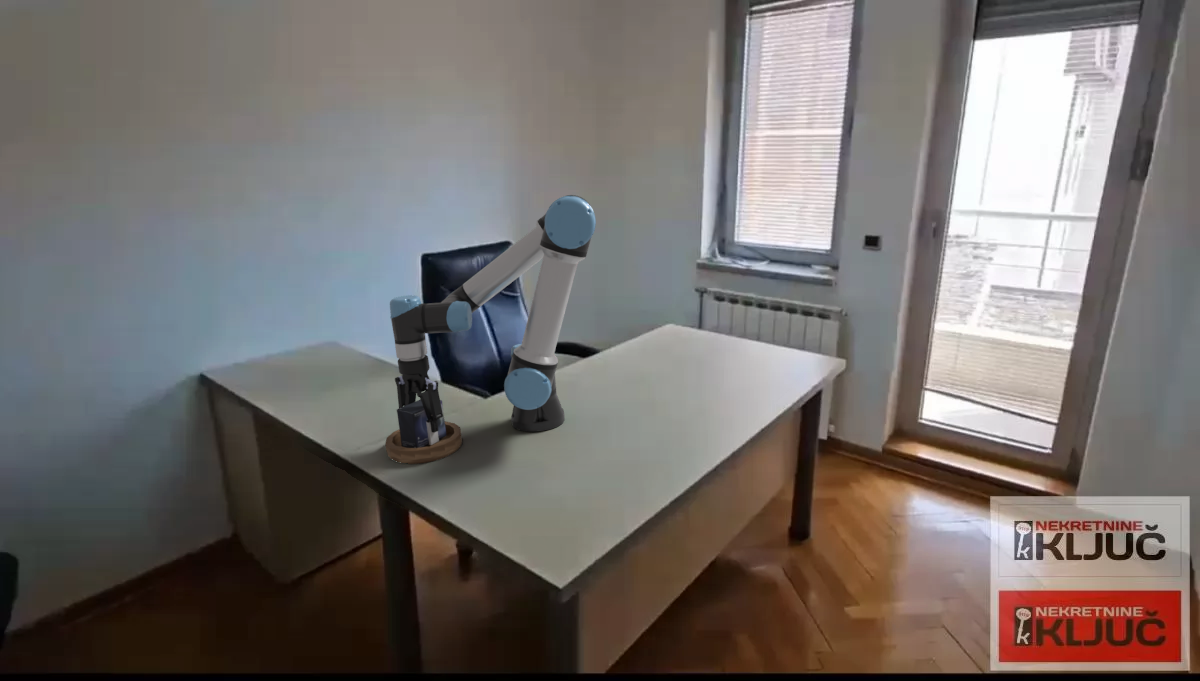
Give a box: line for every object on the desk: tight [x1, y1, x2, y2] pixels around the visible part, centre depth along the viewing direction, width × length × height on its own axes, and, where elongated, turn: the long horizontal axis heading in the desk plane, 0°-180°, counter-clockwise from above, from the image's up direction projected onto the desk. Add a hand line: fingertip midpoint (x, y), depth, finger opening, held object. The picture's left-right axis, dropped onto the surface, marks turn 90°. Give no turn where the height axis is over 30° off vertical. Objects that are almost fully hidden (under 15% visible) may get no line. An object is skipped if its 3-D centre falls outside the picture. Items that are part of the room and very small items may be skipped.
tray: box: [384, 421, 463, 465], centre depth 163 cm, size 19×19×4 cm
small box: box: [396, 398, 447, 448], centre depth 162 cm, size 11×6×10 cm, turn 148°
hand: (424, 440), depth 163 cm, fingers closed on small box, 6 cm apart
